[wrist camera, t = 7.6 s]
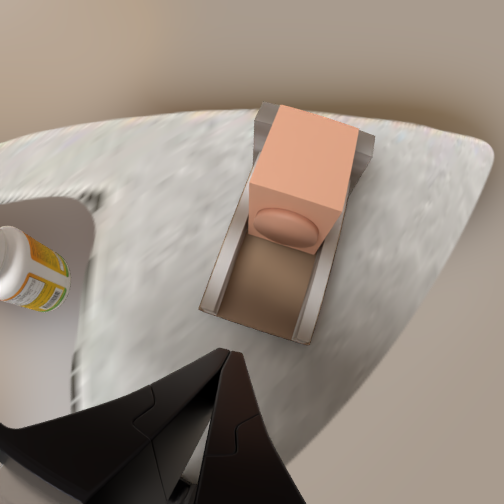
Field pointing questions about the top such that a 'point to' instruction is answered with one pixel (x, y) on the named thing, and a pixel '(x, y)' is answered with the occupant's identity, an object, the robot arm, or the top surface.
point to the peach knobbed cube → (301, 179)
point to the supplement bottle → (31, 272)
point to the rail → (275, 262)
